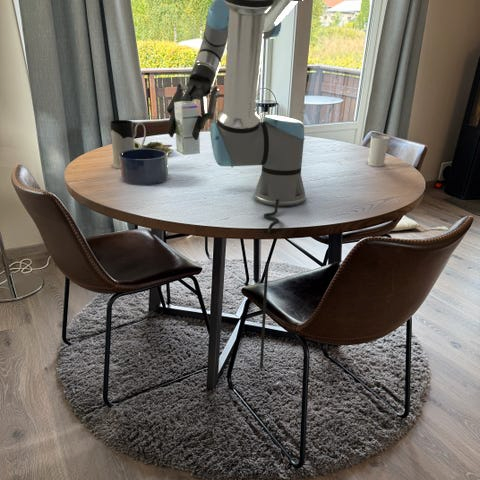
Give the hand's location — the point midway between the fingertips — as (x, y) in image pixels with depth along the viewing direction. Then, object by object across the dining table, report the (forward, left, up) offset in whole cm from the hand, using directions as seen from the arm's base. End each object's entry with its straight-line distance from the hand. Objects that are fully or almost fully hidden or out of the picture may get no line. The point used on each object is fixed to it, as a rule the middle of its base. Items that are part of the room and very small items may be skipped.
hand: (182, 135), depth 149 cm
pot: (+11, +14, -16) cm, 24 cm away
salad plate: (+46, +17, -16) cm, 52 cm away
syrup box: (+3, -1, -6) cm, 7 cm away
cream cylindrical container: (+33, -71, -16) cm, 80 cm away
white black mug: (+29, +21, -16) cm, 39 cm away
